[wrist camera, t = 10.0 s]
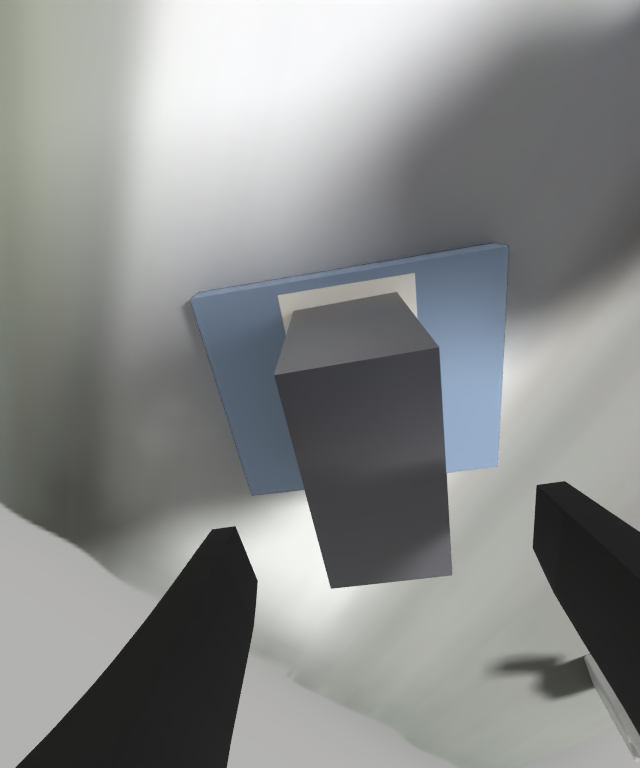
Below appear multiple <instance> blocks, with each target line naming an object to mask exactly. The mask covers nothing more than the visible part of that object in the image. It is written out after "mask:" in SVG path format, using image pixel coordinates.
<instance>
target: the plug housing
mask: <svg viewBox="0 0 640 768" xmlns="http://www.w3.org/2000/svg"><path fill="white" fill-rule="evenodd" d="M274 377H275V381H276V385H277V388H278V392H279V396H280V400H281V403H282V407H283V411H284V415H285V418H286V422H287V426H288V430H289V433H290V437H291V441H292V445H293V448H294V452H295V456H296V459H297V463H298V467H299V471H300V474H301V478H302V482H303V486H304V489H305V493H306V497H307V501H308V504H309V508H310V512H311V516H312V519H313V523H314V527H315V530H316V534H317V538H318V542H319V545H320V549H321V553H322V557H323V560H324V564H325V568H326V572H327V575H328V579H329V583H330V586H331V589H332V588H341V587H350V586H359V585H369V584H378V583H387V582H396V581H405V580H414V579H423V578H432V577H441V576H450V575H452V562H451V544H450V527H449V509H448V492H447V474H446V456H445V439H444V421H443V404H442V386H441V368H440V351H439V346H438V345H437V344H436V342H435V341H434V340H433V338H432V337H431V336H430V334H429V333H428V332H427V331H426V329H425V328H424V327H423V325H422V324H421V323H420V321H419V320H418V319H417V318H416V316H415V315H414V314H413V312H412V311H411V310H410V308H409V307H408V306H407V304H406V303H405V302H404V301H403V299H402V298H401V297H400V295H399V294H398V293H397V292H393V293H388V294H382V295H377V296H371V297H366V298H361V299H355V300H350V301H344V302H339V303H334V304H328V305H323V306H317V307H312V308H307V309H301V310H296V311H293V314H292V318H291V321H290V324H289V327H288V331H287V334H286V337H285V341H284V344H283V347H282V350H281V354H280V357H279V360H278V363H277V367H276V370H275V373H274Z"/></svg>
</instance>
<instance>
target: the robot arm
mask: <svg viewBox="0 0 640 768" xmlns="http://www.w3.org/2000/svg"><path fill="white" fill-rule="evenodd" d="M533 549H534V552H535V554H536V556H537V558H538V560H539V562H540V565H541V567H542V569H543V571H544V573H545V575H546V577H547V580H548V582H549V584H550V586H551V588H552V590H553V592H554V594H555V596H556V597H557V599H558V601H559V602H560V604H561V606H562V607H563V609H564V611H565V612H566V614H567V616H568V617H569V619H570V621H571V622H572V624H573V626H574V627H575V629H576V631H577V632H578V634H579V636H580V637H581V639H582V641H583V642H584V644H585V645H586V647H587V649H588V650H589V652H590V654H591V655H592V657H593V659H594V660H595V662H596V663H597V665H598V667H599V668H600V670H601V672H602V673H603V675H604V677H605V678H606V680H607V681H608V683H609V685H610V686H611V688H612V690H613V691H614V693H615V695H616V696H617V698H618V699H619V701H620V703H621V704H622V706H623V708H624V709H625V711H626V713H627V715H628V716H629V718H630V720H631V722H632V723H633V725H634V727H635V729H636V730H637V732H638V734H639V736H640V532H639V531H637V530H636V529H634V528H633V527H631V526H630V525H628V524H627V523H626V522H624V521H623V520H621V519H620V518H618V517H617V516H615V515H614V514H612V513H611V512H609V511H608V510H606V509H605V508H603V507H602V506H600V505H599V504H598V503H596V502H595V501H593V500H592V499H590V498H589V497H587V496H586V495H584V494H583V493H581V492H580V491H578V490H577V489H576V488H574V487H573V486H571V485H570V484H568V483H567V482H565V481H563V482H556V483H549V484H541V485H537V489H536V505H535V521H534V537H533ZM257 582H258V581H257V578H256V576H255V573H254V571H253V569H252V566H251V564H250V561H249V559H248V556H247V554H246V551H245V549H244V546H243V544H242V541H241V539H240V536H239V534H238V532H237V529H236V527H235V526H234V527H227V528H220V529H212V531H211V532H210V533H209V535H208V536H207V537H206V539H205V540H204V541H203V543H202V544H201V545H200V547H199V548H198V549H197V551H196V552H195V554H194V555H193V556H192V558H191V559H190V561H189V562H188V563H187V565H186V566H185V568H184V569H183V570H182V572H181V573H180V574H179V576H178V577H177V579H176V580H175V581H174V583H173V584H172V586H171V587H170V588H169V590H168V591H167V592H166V594H165V595H164V596H163V598H162V599H161V600H160V602H159V603H158V604H157V606H156V607H155V608H154V610H153V611H152V612H151V614H150V615H149V616H148V618H147V619H146V620H145V621H144V623H143V624H142V625H141V627H140V628H139V629H138V630H137V632H136V633H135V634H134V635H133V637H132V638H131V639H130V640H129V642H128V643H127V644H126V645H125V647H124V648H123V649H122V650H121V652H120V653H119V654H118V655H117V657H116V658H115V659H114V660H113V662H112V663H111V664H110V665H109V666H108V668H107V669H106V670H105V671H104V672H103V673H102V675H101V676H100V677H99V678H98V679H97V681H96V682H95V683H94V684H93V685H92V686H91V688H90V689H89V690H88V691H87V692H86V693H85V694H84V695H83V697H82V698H81V699H80V700H79V701H78V702H77V703H76V704H75V705H74V707H73V708H72V709H71V710H70V711H69V712H68V713H67V714H66V715H65V716H64V718H63V719H62V720H61V721H60V722H59V723H58V724H57V725H56V727H55V728H53V730H52V731H51V732H50V733H49V734H48V735H47V736H46V737H45V738H44V739H43V740H42V741H41V742H40V743H39V744H38V745H37V746H36V747H35V748H34V749H33V750H32V751H31V752H30V753H29V754H28V755H27V756H26V757H25V758H24V760H22V762H20V763H19V764H18V766H17V767H16V768H227V762H228V756H229V750H230V744H231V739H232V734H233V728H234V724H235V718H236V714H237V708H238V704H239V698H240V694H241V688H242V684H243V678H244V674H245V668H246V663H247V658H248V653H249V648H250V643H251V638H252V632H253V627H254V618H255V608H256V595H257Z"/></svg>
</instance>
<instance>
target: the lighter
mask: <svg viewBox="0 0 640 768" xmlns="http://www.w3.org/2000/svg"><path fill="white" fill-rule="evenodd" d="M584 660H585V663H586V666H587V668H588V671H589V674H590V677H591V679H592V682H593V685H594V687H595V688H596V690H597V692H598V694H599V696H600V698H601V699H602V701H603V703H604V705H605V707H606V709H607V710H608V712H609V714H610V716H611V718H612V720H613V721H614V723H615V725H616V727H617V729H618V731H619V732H620V734H621V736H622V738H623V740H624V741H625V743H626V745H627V747H628V749H629V751H630V752H631V754H632V756H633V758H634V760H635V761H636V762H640V736H639V734H638V732H637V730H636V729H635V727H634V725H633V723H632V722H631V720H630V718H629V716H628V715H627V713H626V711H625V709H624V708H623V706H622V704H621V703H620V701H619V699H618V698H617V696H616V695H615V693H614V691H613V690H612V688H611V686H610V685H609V683H608V681H607V680H606V678H605V677H604V675H603V673H602V672H601V670H600V668H599V667H598V665H597V663H596V662H595V660H594V659H593V657H592V655H591V654H590V655H586V656H585V657H584Z"/></svg>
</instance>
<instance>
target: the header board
mask: <svg viewBox="0 0 640 768" xmlns="http://www.w3.org/2000/svg"><path fill="white" fill-rule="evenodd" d="M508 257H509V246H507V245H503V244H499V243H491V244H485V245H479V246H473V247H467V248H461V249H455V250H449V251H443V252H437V253H431V254H425V255H419V256H413V257H407V258H401V259H396V260H390V261H384V262H378V263H372V264H366V265H360V266H354V267H348V268H342V269H336V270H330V271H324V272H318V273H312V274H306V275H300V276H294V277H288V278H282V279H276V280H270V281H264V282H258V283H252V284H246V285H240V286H234V287H228V288H222V289H216V290H210V291H204V292H199V293H198V294H196V295H195V296H194V297H192V298H191V299H190V301H191V304H192V307H193V310H194V314H195V317H196V320H197V323H198V326H199V329H200V333H201V336H202V339H203V342H204V345H205V348H206V352H207V355H208V358H209V361H210V364H211V367H212V371H213V374H214V377H215V380H216V383H217V386H218V390H219V393H220V396H221V399H222V402H223V406H224V409H225V412H226V415H227V418H228V421H229V425H230V428H231V431H232V434H233V437H234V440H235V444H236V447H237V450H238V453H239V456H240V459H241V463H242V466H243V469H244V472H245V475H246V478H247V482H248V485H249V488H250V491H251V494H252V496H254V495H263V494H271V493H280V492H289V491H297V490H305V489H304V486H303V482H302V478H301V474H300V471H299V467H298V463H297V459H296V456H295V452H294V448H293V445H292V441H291V437H290V433H289V430H288V426H287V422H286V418H285V415H284V411H283V407H282V403H281V400H280V396H279V392H278V388H277V385H276V381H275V377H274V373H275V370H276V367H277V363H278V360H279V357H280V354H281V350H282V347H283V344H284V341H285V337H286V334H287V331H288V327H289V324H290V321H291V318H292V314H293V311H296V310H301V309H307V308H312V307H317V306H323V305H328V304H334V303H339V302H344V301H350V300H355V299H361V298H366V297H371V296H377V295H382V294H388V293H393V292H397V293H398V294H399V295H400V297H401V298H402V299H403V301H404V302H405V303H406V304H407V306H408V307H409V308H410V310H411V311H412V312H413V314H414V315H415V316H416V318H417V319H418V320H419V321H420V323H421V324H422V325H423V327H424V328H425V329H426V331H427V332H428V333H429V334H430V336H431V337H432V338H433V340H434V341H435V342H436V344H437V345H438V346H439V351H440V368H441V386H442V404H443V421H444V439H445V456H446V473H451V472H459V471H468V470H476V469H485V468H493V467H498V459H499V439H500V419H501V398H502V378H503V358H504V338H505V318H506V297H507V277H508Z"/></svg>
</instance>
